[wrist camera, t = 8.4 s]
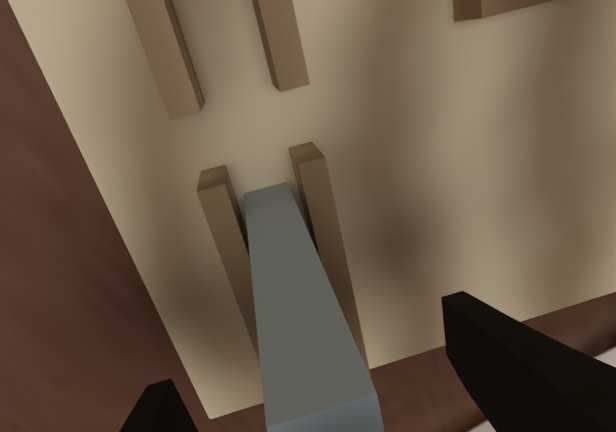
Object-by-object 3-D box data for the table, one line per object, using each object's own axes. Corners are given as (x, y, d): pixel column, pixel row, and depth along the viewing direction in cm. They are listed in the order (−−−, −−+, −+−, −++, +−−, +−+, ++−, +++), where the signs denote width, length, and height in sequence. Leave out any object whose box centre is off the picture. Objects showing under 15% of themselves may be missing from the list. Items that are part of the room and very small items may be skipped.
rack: (707, -438, 10) (885, -618, 7) (613, 275, 19) (676, 312, 17) (-116, -300, 9) (-276, -462, 6) (210, 400, 18) (207, 464, 15)
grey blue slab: (287, 181, 13) (376, 392, 5) (327, 337, 16) (424, 628, 8) (243, 193, 13) (266, 427, 5) (292, 348, 16) (355, 654, 8)
